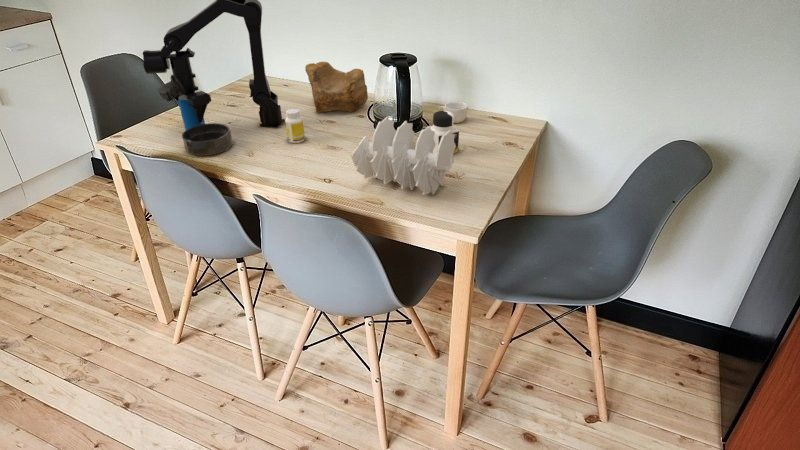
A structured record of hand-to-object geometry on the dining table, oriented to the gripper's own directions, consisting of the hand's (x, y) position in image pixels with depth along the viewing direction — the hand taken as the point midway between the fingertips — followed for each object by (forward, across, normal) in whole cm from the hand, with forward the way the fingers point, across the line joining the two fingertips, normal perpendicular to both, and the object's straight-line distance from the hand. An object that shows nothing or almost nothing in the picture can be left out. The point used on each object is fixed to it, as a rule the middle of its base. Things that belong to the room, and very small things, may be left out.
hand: (193, 118), depth 175 cm
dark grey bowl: (+4, +15, -4) cm, 16 cm away
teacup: (+3, +60, +62) cm, 87 cm away
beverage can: (+5, 0, 0) cm, 5 cm away
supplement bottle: (+4, +32, +17) cm, 36 cm away
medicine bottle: (+4, +72, +42) cm, 83 cm away
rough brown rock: (+4, +20, +43) cm, 48 cm away
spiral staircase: (+4, +78, +19) cm, 80 cm away
